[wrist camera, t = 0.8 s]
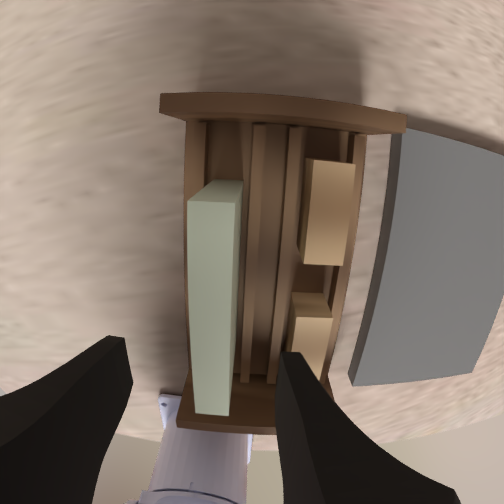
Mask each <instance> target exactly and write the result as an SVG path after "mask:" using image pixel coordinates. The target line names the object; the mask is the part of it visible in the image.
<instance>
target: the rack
mask: <svg viewBox="0 0 504 504" xmlns="http://www.w3.org/2000/svg"><path fill="white" fill-rule="evenodd" d="M159 113H162V114H165V115H168V116H172V117H175V118H178V119H181V120H184V121H186V137H185V165H184V278H185V306H186V327H187V344H188V360H189V372H188V375H187V379H186V383H185V386H184V390H183V394H182V397H181V401H180V405H179V409H178V412H177V416H176V425H177V428H185V429H193V430H201V431H211V432H223V433H237V434H258V435H277V434H276V426H275V390H276V383H277V376H278V369H279V362H280V355H281V352H283V351H284V344H285V337H286V329H287V322H288V314H289V306H290V297H291V292H304V293H323V294H324V297H325V299H326V302H327V304H328V306H329V309H330V311H331V314H332V316H333V322H332V327H331V332H330V336H329V341H328V346H327V350H326V354H325V359H324V363H323V367H322V372H321V376H320V380H319V381H320V383H321V384H322V386H323V387H324V388H325V390H326V391H327V392H328V394H329V395H330V396H331V398H332V399H333V400H334V397H333V393H332V389H331V386H330V382H329V378H328V372H329V368H330V364H331V360H332V356H333V352H334V347H335V343H336V339H337V334H338V330H339V325H340V321H341V316H342V311H343V306H344V301H345V296H346V291H347V286H348V280H349V275H350V269H351V263H352V257H353V251H354V245H355V238H356V232H357V225H358V217H359V210H360V202H361V194H362V185H363V175H364V165H365V154H366V142H367V135H375V134H398V133H406V123H407V115H405V114H400V113H396V112H391V111H387V110H382V109H377V108H372V107H366V106H361V105H355V104H349V103H342V102H336V101H329V100H321V99H313V98H304V97H295V96H284V95H271V94H255V93H228V92H188V93H162V94H160V108H159ZM304 157H306V158H316V159H326V160H335V161H342V162H346V163H351V164H355V165H356V167H355V177H354V186H353V195H352V204H351V212H350V220H349V227H348V235H347V242H346V248H345V255H344V261H343V266H335V265H316V264H303V261H302V258H301V256H300V253H299V250H298V248H297V245H296V244H297V234H298V224H299V213H300V202H301V191H302V179H303V166H304ZM214 179H227V180H244V183H243V202H242V222H241V243H240V264H239V287H238V311H237V336H236V346H235V356H234V366H233V376H232V386H231V397H230V407H229V416H222V415H210V414H200V413H195V402H194V390H193V376H192V362H191V346H190V327H189V303H188V265H187V201H188V200H189V199H190V198H191V197H193V196H194V195H195V194H196V193H198V192H199V191H200V190H201V189H203V188H204V187H205V186H206V185H207V184H209V183H210V182H211V181H213V180H214Z"/></svg>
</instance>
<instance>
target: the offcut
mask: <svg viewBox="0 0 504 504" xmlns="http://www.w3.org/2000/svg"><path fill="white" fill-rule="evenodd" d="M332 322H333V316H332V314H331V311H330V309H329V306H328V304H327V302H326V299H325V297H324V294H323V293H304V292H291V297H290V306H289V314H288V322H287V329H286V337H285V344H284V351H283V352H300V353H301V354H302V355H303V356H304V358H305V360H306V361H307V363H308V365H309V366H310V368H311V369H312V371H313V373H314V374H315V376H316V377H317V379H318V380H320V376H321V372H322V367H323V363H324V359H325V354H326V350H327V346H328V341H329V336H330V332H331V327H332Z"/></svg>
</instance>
